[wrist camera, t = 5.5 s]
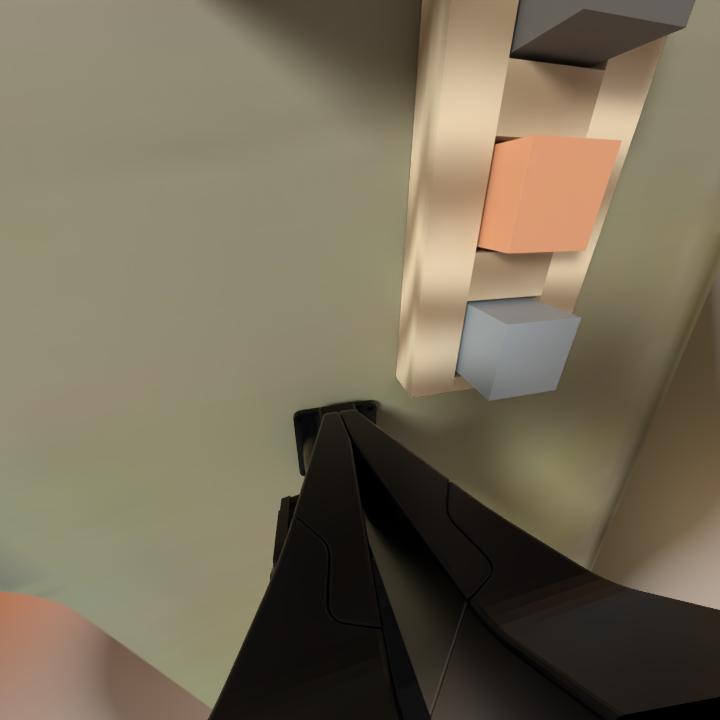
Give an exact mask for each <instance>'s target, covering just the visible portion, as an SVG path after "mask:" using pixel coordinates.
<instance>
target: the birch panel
mask: <svg viewBox="0 0 720 720" xmlns="http://www.w3.org/2000/svg"><path fill="white" fill-rule="evenodd" d="M518 3H519V0H422V11H421V25H420V39H419V54H418V68H417V83H416V97H415V112H414V126H413V141H412V155H411V169H410V184H409V198H408V213H407V227H406V242H405V256H404V270H403V285H402V299H401V314H400V328H399V343H398V357H397V371H396V377H397V379H398V380H399V382H400V383H401V384H402V386H403V387H404V389H405V390H406V391H407V393H408V394H409V396H410V397H411V398H413V397H420V396H427V395H433V394H440V393H446V392H453V391H459V390H466V389H472V388H474V387H473V386H472V385H471V384H469V383H468V382H467V381H466V380H465V379H464V378H463V377H462V376H461V375H460V374H459V373H457V372H456V371H455V370H456V364H457V358H458V352H459V346H460V340H461V335H462V329H463V323H464V317H465V311H466V305H467V301H476V300H489V299H502V298H514V297H529V298H532V299H535V300H537V301H540V302H543V303H545V304H548V305H551V306H553V307H556V308H559V309H561V310H564V311H567V312H569V313H573V310H574V307H575V304H576V301H577V298H578V295H579V292H580V290H581V287H582V284H583V281H584V278H585V275H586V272H587V269H588V266H589V263H590V260H591V257H592V254H593V252H594V249H595V246H596V243H597V240H598V237H599V234H600V231H601V228H602V225H603V222H604V219H605V216H606V213H607V211H608V208H609V205H610V202H611V199H612V196H613V193H614V190H615V187H616V184H617V181H618V178H619V175H620V172H621V170H622V167H623V164H624V161H625V158H626V155H627V152H628V149H629V146H630V143H631V140H632V137H633V134H634V132H635V129H636V126H637V123H638V120H639V117H640V114H641V111H642V108H643V105H644V102H645V99H646V96H647V93H648V91H649V88H650V85H651V82H652V79H653V76H654V73H655V70H656V67H657V64H658V61H659V58H660V55H661V52H662V50H663V47H664V44H665V41H666V38H667V35H666V36H664V37H661V38H659V39H656V40H654V41H652V42H649V43H647V44H644V45H642V46H640V47H637V48H635V49H632V50H630V51H627V52H625V53H623V54H620V55H618V56H615V57H613V58H611V59H608V60H606V61H603V62H601V63H598V64H596V65H594V66H591V67H589V68H582V67H575V66H567V65H559V64H551V63H544V62H536V61H528V60H521V59H513V58H509V55H510V49H511V43H512V38H513V32H514V26H515V20H516V14H517V8H518ZM531 135H545V136H561V137H576V138H592V139H607V140H622V142H621V145H620V148H619V151H618V154H617V157H616V160H615V163H614V166H613V169H612V172H611V175H610V178H609V181H608V184H607V187H606V190H605V193H604V196H603V199H602V202H601V205H600V208H599V211H598V214H597V217H596V220H595V223H594V226H593V230H592V233H591V236H590V239H589V242H588V245H587V248H586V250H584V251H559V252H534V253H509V254H508V253H504V252H499V251H495V250H490V249H486V248H481V247H477V241H478V236H479V230H480V224H481V218H482V212H483V206H484V201H485V195H486V189H487V183H488V177H489V171H490V166H491V160H492V154H493V148H494V145H495V144H499V143H503V142H507V141H511V140H515V139H519V138H523V137H527V136H531Z"/></svg>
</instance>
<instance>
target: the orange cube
mask: <svg viewBox="0 0 720 720" xmlns="http://www.w3.org/2000/svg"><path fill="white" fill-rule="evenodd" d="M621 142H622V140H607V139H592V138H576V137H561V136H545V135H531V136H527V137H523V138H519V139H515V140H511V141H507V142H503V143H499V144H495V145H494V148H493V154H492V160H491V166H490V171H489V177H488V183H487V189H486V195H485V201H484V206H483V212H482V218H481V224H480V230H479V236H478V241H477V247H481V248H486V249H490V250H495V251H499V252H504V253H508V254H509V253H534V252H559V251H584V250H586V248H587V245H588V242H589V239H590V236H591V233H592V230H593V226H594V223H595V220H596V217H597V214H598V211H599V208H600V205H601V202H602V199H603V196H604V193H605V190H606V187H607V184H608V181H609V178H610V175H611V172H612V169H613V166H614V163H615V160H616V157H617V154H618V151H619V148H620V145H621Z"/></svg>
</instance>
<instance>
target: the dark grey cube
mask: <svg viewBox="0 0 720 720" xmlns="http://www.w3.org/2000/svg"><path fill="white" fill-rule="evenodd" d="M694 3H695V0H519V3H518V8H517V14H516V20H515V26H514V32H513V38H512V43H511V49H510V55H509V58H513V59H521V60H528V61H536V62H544V63H551V64H559V65H567V66H575V67H582V68H589V67H591V66H594V65H596V64H598V63H601V62H603V61H606V60H608V59H611V58H613V57H615V56H618V55H620V54H623V53H625V52H627V51H630V50H632V49H635V48H637V47H640V46H642V45H644V44H647V43H649V42H652V41H654V40H656V39H659V38H661V37H664V36H666V35H668V34H671V33H673V32H676V31H678V30H681V29H683V28H685V27H686V25H687V22H688V19H689V17H690V14H691V11H692V8H693V6H694Z"/></svg>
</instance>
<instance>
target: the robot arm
mask: <svg viewBox="0 0 720 720" xmlns="http://www.w3.org/2000/svg"><path fill="white" fill-rule="evenodd" d="M369 406H372V407H371V408H368V407H369ZM298 417H303V418H301V419H298ZM293 419H294V427H295V436H296V444H297V452H298V461H299V469H300V474H301V475H302V476H305V478H304V481H303V485H302V488H301V491H300V494H299V495H296V496H293V497H291V496H288V497H285V498H282V499H281V507H280V510H279V513H278V521H277V530H276V538H275V547H274V555H273V568H272V571H271V574H270V582H269V585H268V587H267V590H266V592H265V594H264V597H263V599H262V601H261V603H260V606H259V608H258V610H257V613H256V615H255V617H254V619H253V622H252V624H251V626H250V628H249V631H248V633H247V635H246V637H245V640H244V642H243V644H242V647H241V649H240V651H239V653H238V656H237V658H236V660H235V662H234V665H233V667H232V669H231V671H230V674H229V676H228V678H227V680H226V683H225V685H224V687H223V689H222V691H221V693H220V696H219V698H218V700H217V702H216V704H215V706H214V708H213V710H212V712H211V714H210V716H209V718H208V720H720V610H718V609H713V608H709V607H705V606H701V605H696V604H693V603H689V602H684V601H680V600H676V599H672V598H668V597H664V596H659V595H655V594H651V593H647V592H643V591H639V590H635V589H631V588H628V587H625V586H622V585H620V584H617V583H614V582H612V581H610V580H607V579H605V578H603V577H601V576H599V575H597V574H595V573H593V572H591V571H589V570H587V569H585V568H584V567H582V566H580V565H579V564H577V563H575V562H574V561H572V560H570V559H569V558H567V557H566V556H564V555H562V554H561V553H559V552H558V551H556V550H554V549H553V548H551V547H549V546H548V545H546V544H545V543H543V542H541V541H540V540H538V539H537V538H535V537H533V536H532V535H530V534H528V533H527V532H525V531H524V530H522V529H520V528H519V527H517V526H516V525H514V524H512V523H511V522H509V521H508V520H506V519H505V518H503V517H502V516H500V515H498V514H497V513H495V512H494V511H492V510H491V509H489V508H488V507H486V506H485V505H483V504H482V503H480V502H479V501H478V500H476V499H475V498H473V497H472V496H471V495H469V494H468V493H466V492H465V491H464V490H462V489H461V488H460V487H458V486H457V485H456V484H454V483H453V482H449V479H447V478H446V477H445V476H443V475H442V474H441V473H439V472H438V471H437V470H435V469H434V468H433V467H431V466H430V465H429V464H427V463H426V462H425V461H423V460H422V459H421V458H419V457H418V456H417V455H415V454H414V453H413V452H411V451H410V450H409V449H407V448H406V447H405V446H403V445H402V444H401V443H399V442H398V441H397V440H395V439H394V438H392V437H391V436H390V435H388V434H387V433H386V432H384V431H383V430H382V429H380V428H379V427H378V426H376V405H375V403H374V402H373V401H363V402H356V403H347V404H340V405H334V406H327V407H321V408H316V409H309V410H302V411H298V412H296V413H295V414H294V416H293Z"/></svg>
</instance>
